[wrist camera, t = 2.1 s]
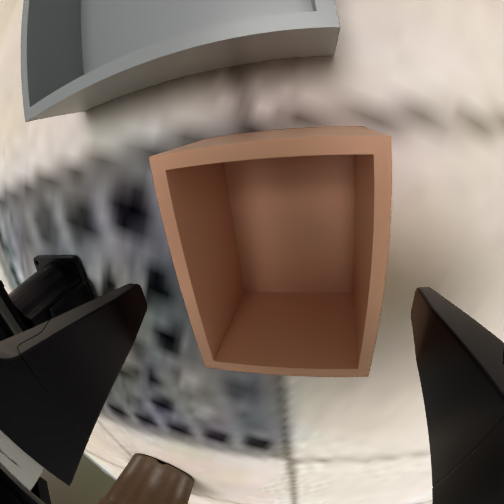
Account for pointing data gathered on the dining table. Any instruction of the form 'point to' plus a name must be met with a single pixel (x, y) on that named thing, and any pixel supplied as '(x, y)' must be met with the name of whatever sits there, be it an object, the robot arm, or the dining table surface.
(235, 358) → the small crate
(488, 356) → the robot arm
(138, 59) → the big crate
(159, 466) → the plant pot
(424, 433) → the dining table surface
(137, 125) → the dining table surface
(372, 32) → the dining table surface
